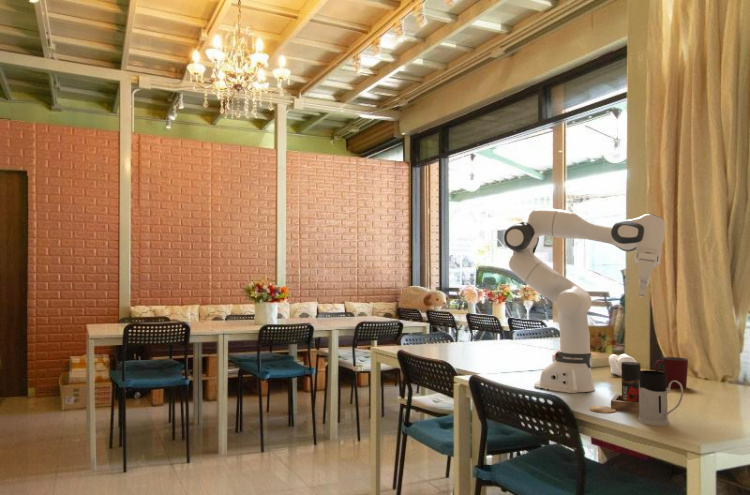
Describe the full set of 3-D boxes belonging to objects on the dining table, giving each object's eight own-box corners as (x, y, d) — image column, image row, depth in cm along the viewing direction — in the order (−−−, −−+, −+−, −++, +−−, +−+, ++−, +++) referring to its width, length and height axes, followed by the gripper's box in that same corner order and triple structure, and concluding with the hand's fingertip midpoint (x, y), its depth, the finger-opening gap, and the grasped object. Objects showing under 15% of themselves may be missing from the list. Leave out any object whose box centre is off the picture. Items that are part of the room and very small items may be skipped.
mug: (660, 388, 230) (660, 360, 230) (651, 384, 239) (651, 356, 239) (692, 389, 229) (691, 360, 230) (682, 384, 238) (681, 357, 238)
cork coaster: (587, 411, 195) (587, 409, 195) (591, 406, 202) (591, 404, 202) (613, 414, 191) (613, 412, 191) (617, 409, 198) (617, 407, 198)
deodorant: (619, 408, 199) (618, 363, 200) (626, 405, 203) (625, 361, 204) (637, 411, 195) (636, 365, 195) (644, 408, 199) (643, 363, 199)
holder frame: (610, 409, 197) (610, 400, 197) (616, 402, 207) (615, 394, 207) (648, 413, 191) (648, 404, 191) (652, 406, 201) (651, 397, 201)
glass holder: (650, 416, 188) (649, 369, 188) (692, 427, 175) (691, 376, 176) (631, 420, 183) (630, 371, 184) (673, 431, 171) (672, 379, 171)
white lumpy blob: (602, 372, 266) (602, 352, 266) (630, 372, 266) (629, 352, 266) (612, 377, 255) (611, 356, 255) (640, 377, 254) (640, 356, 255)
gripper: (638, 260, 229) (632, 296, 227) (638, 252, 210) (631, 291, 209) (656, 263, 226) (650, 299, 225) (657, 255, 207) (651, 294, 206)
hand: (641, 295), depth 217 cm, fingers open, 8 cm apart
